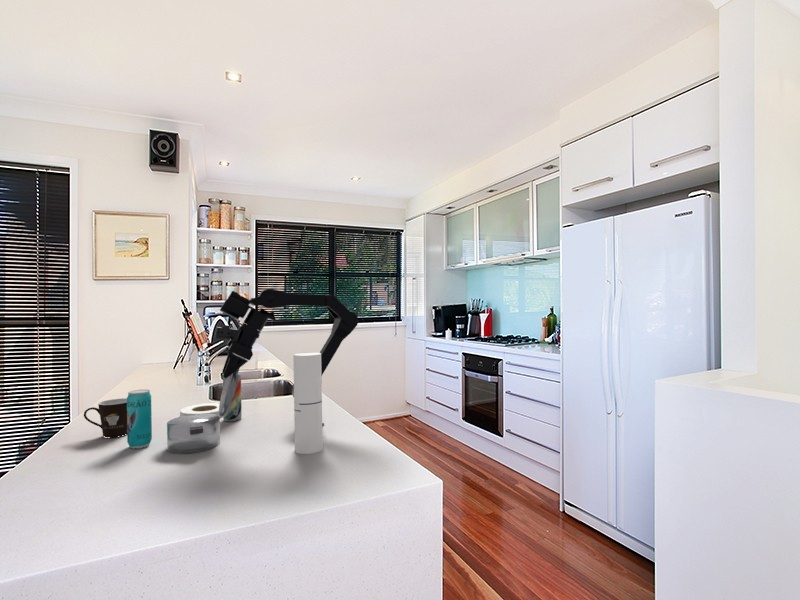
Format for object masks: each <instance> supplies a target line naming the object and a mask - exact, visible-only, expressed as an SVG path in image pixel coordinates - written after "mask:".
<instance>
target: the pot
mask: <svg viewBox="0 0 800 600" xmlns="http://www.w3.org/2000/svg"><path fill="white" fill-rule="evenodd" d="M166 435H167V436H166V438H167V439H166V441H167V443H166V445H167V446H166V450H167V451H169V453H171V454H176V453H178V454H179V455H181V454H183V455H185V454H194V453H200V452H201V453H202V452H205V451H209V450H211V449H214V448H216V447H218V446H219V445H220V444H221V417H220V416H218V415H215V414H191V415H186V416H182V417H180V416H179V417H175V418H172V419H169V421H167V422H166Z"/></svg>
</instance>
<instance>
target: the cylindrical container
mask: <svg viewBox="0 0 800 600" xmlns="http://www.w3.org/2000/svg"><path fill="white" fill-rule="evenodd" d="M292 355H293V384H294V397H293V410H294V413H293V417H294V422H293V423H294V425H293V426H294V452H295V453H296V454H298V455H299V454H300V455H313V454H317V453H319V452H321V451H323V447H324V446H323V445H324V444H323V438H324V437H323V426H322V423H323V393H322V391H323V389H322V385H323V384H322V382H323V381H322V380H323V379H322V377H323V375H322V374H321V353H320V352H311V351H310V352H300V353H299V352H298V353H293V354H292Z"/></svg>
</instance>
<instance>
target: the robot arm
mask: <svg viewBox="0 0 800 600" xmlns="http://www.w3.org/2000/svg"><path fill="white" fill-rule="evenodd" d="M250 305H251V306H250ZM255 306H261V307H260V308H259V309H256V308H255ZM289 306H303V307H308V306H309V307H325V308H326V309H327V311H328V313H329V314H330V315H331V316H332V317H333V319H334V321H333V324H332V328H331V332H330V334H329V336H328V338H327V339H326V341H325V343H324V344H323V346H322V348H321V350H320V351H319V353H321V374H322V376H323V375H324V373H325V372H326V370H327V368H328V366H329V364H330V363H331V361H332V359H333V357H334V356H335V354H336V353H337V351H338V349H339V348H340V346H341V344H342V342H343V341H344V340H345V339H346V338H347V337H348V336H349V335H350V334H351V333H352V332H353V331H354V330H355V329H356V328H357V326H358V324H359V318H358V315H357V314H356V313H355V312H353V311H350V310H349V309H348V308H347V307H346V305H344V304H343V303H342V302H341V301H339V300H338V299H337V297H336V296H335V295H334V294H311V293H310V294H309V293H308V294H307V293H291V292H286V291H281V290H277V289H273V288H266V289H263V290H261V291H260V292H259V294H258V295H257V296H255V297H250V299H248V298H247V297H244V296H242V295H241V294H240V293H238V292H237V291H235V290H231V292H230V294H229V295H228V297H227V298H226V299H225V300H224V302H223V304H222V306H221V307H220V309H219V312H222V313H223V314H226V315H227V316H229V317H231V318H233V319H235V320H239V318H240V319H244V318H245V319H244V321H243V322H242V324H241V325H239V326H238V327H237V328H231V327H230V325H227V324H226V325H225V324H223V325H222V327H221V326H216V328H215V333H214V334H215V335H214V339H219V340H220V339H224V340H228V342H227V343H226V346H225V349H226V351H227V355H226V356H227V357H226V359H225V362H224V365H223V368H222V373H223V375H222V378H223V377H224V378H228V377H229V376H230V375H231V374H232V373H234V372H235V371H236V370H237V369H239V370H240V368H242V367H243V366H244V365H245V364H246V363H248V362H249V361H250V360H252V357H253V355H254V354H253V346H254V344H255V343H256V341H257V339H259V338H260V335H261V332H262V331H263V329H264V327H265V325H266V324H267V321H268V320H271V321H273V322H274V321H276V320H277V319H276V316H275V311H267V310H266V309H276V308H281V307H289ZM249 309H250V310H249ZM246 314H247V315H246ZM245 316H246V317H245ZM291 386H292V389H291V394H292V397H293V398H294V383H293V384H291ZM323 426H325V423H324V422H322V427H323Z"/></svg>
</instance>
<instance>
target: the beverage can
mask: <svg viewBox="0 0 800 600" xmlns="http://www.w3.org/2000/svg"><path fill="white" fill-rule="evenodd" d="M127 394H128V395H127V397H126V398H127V435H126V437H127V438H126V439H127V440H126V442H127V445H128V446H129V448H130V449H131V448H133V449H132V450H136V449H135V448H140V449H144V448H147V447H148V445H149V446H150V445H151V442H152V439H153V438H152V437H153V435H152V434H153V431H152V429H153V424H152V422H153V420H152V419H153V418H152V416H153V415H152V395H151V390H150V389H137V390H131V391H128V392H127ZM146 446H147V447H146ZM143 447H144V448H143Z"/></svg>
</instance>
